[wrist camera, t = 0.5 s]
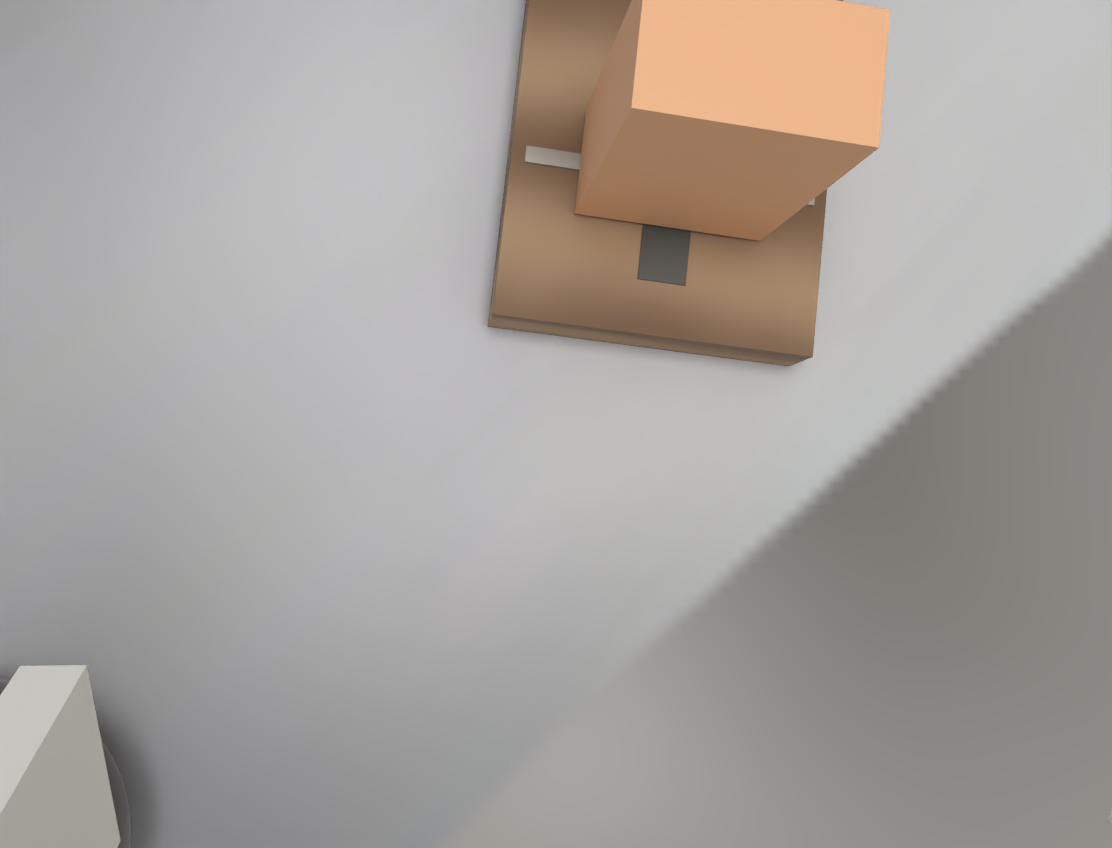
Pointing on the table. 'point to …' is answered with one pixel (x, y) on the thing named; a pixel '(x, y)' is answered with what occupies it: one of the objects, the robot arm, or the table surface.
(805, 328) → the fader board
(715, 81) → the fader knob
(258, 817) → the table surface
